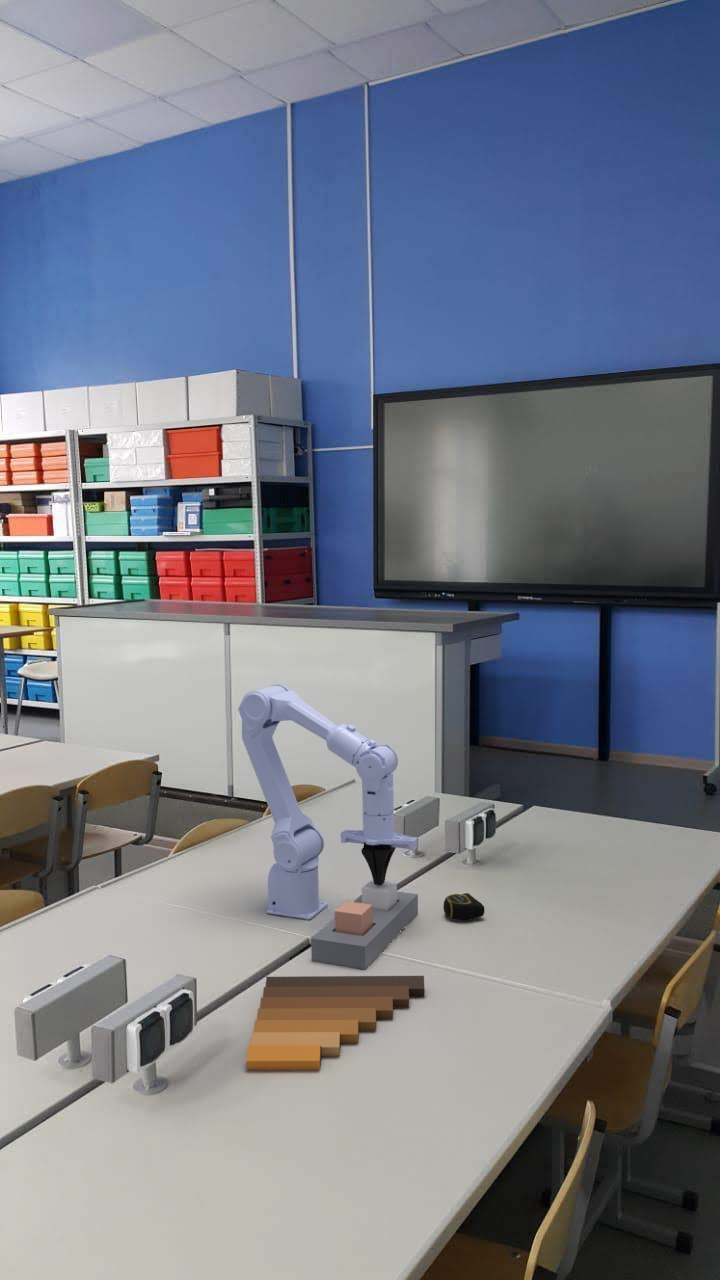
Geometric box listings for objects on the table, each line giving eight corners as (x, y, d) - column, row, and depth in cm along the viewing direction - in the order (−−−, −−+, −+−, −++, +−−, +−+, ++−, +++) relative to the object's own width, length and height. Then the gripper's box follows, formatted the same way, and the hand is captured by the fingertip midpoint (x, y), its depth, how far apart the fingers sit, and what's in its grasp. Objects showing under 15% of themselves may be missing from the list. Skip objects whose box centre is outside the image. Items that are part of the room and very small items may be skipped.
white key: (362, 911, 186) (361, 888, 185) (372, 902, 190) (372, 879, 190) (387, 915, 184) (387, 891, 183) (397, 905, 188) (396, 882, 188)
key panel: (311, 960, 172) (311, 938, 172) (369, 907, 196) (369, 887, 195) (365, 969, 168) (365, 946, 168) (418, 914, 192) (417, 894, 191)
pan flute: (423, 991, 161) (268, 991, 162) (423, 970, 161) (267, 971, 162) (430, 1074, 136) (246, 1075, 137) (430, 1051, 136) (246, 1051, 137)
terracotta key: (335, 936, 175) (334, 911, 174) (347, 925, 179) (346, 901, 179) (361, 940, 173) (361, 914, 172) (372, 929, 177) (372, 904, 177)
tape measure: (486, 921, 188) (485, 902, 188) (452, 926, 186) (452, 907, 186) (470, 908, 195) (470, 890, 194) (438, 913, 193) (438, 894, 192)
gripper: (333, 813, 184) (334, 885, 186) (407, 821, 179) (408, 895, 180) (348, 804, 191) (350, 873, 192) (420, 811, 185) (421, 882, 187)
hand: (379, 883), depth 187 cm, fingers closed
